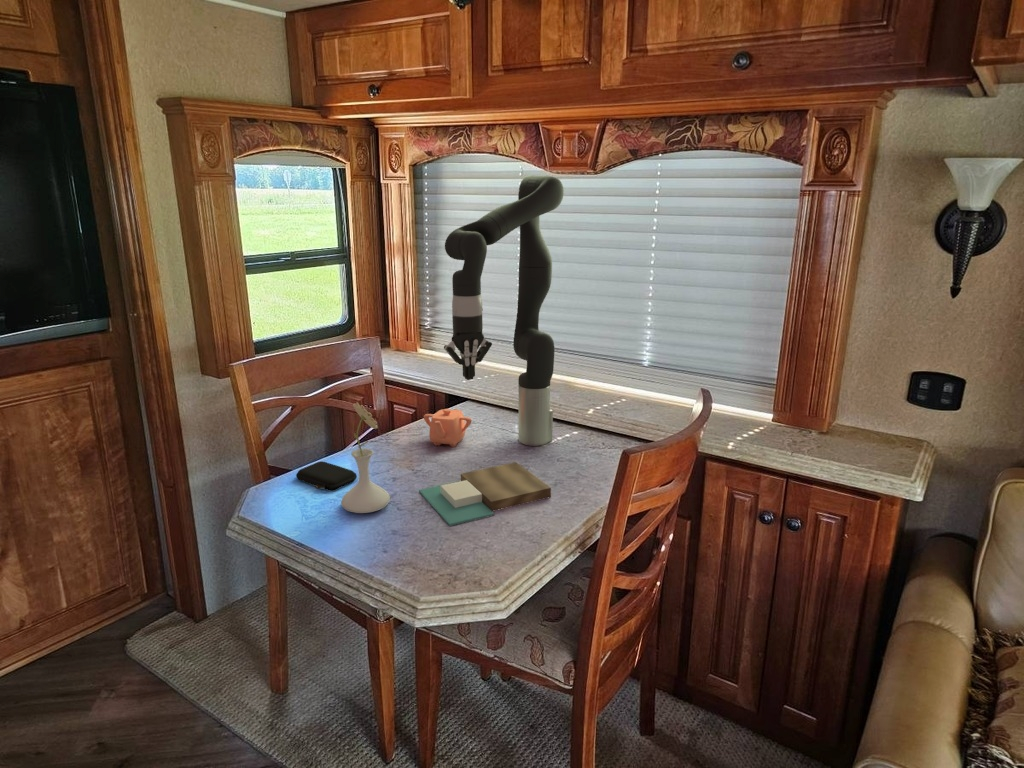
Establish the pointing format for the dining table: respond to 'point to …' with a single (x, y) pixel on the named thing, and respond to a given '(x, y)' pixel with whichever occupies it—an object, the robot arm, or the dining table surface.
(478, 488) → the brown wooden board
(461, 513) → the mat
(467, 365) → the robot arm
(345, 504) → the flower in vase
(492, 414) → the dining table surface
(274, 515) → the dining table surface
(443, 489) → the tile
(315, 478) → the carrying case or bag
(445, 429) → the teapot
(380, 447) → the dining table surface
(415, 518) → the dining table surface
